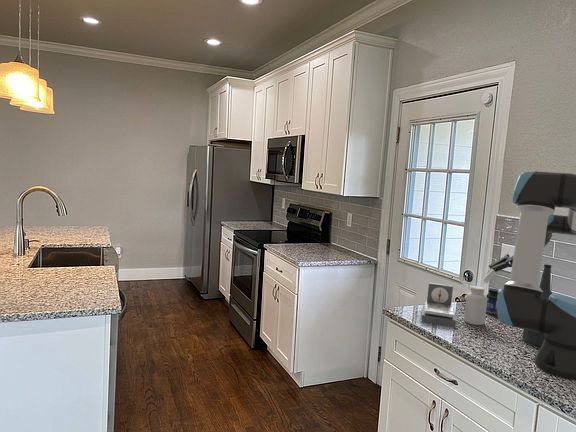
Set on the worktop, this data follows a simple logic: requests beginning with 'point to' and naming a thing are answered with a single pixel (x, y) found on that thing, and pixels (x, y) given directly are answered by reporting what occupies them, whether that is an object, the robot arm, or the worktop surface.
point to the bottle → (545, 286)
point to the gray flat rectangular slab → (439, 309)
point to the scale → (440, 296)
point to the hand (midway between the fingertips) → (496, 285)
